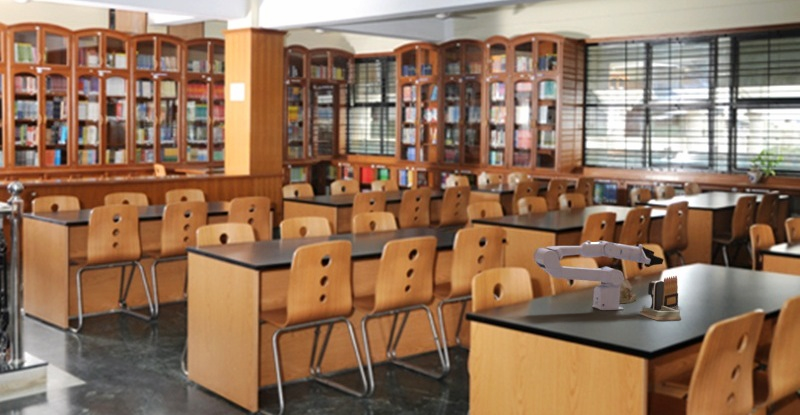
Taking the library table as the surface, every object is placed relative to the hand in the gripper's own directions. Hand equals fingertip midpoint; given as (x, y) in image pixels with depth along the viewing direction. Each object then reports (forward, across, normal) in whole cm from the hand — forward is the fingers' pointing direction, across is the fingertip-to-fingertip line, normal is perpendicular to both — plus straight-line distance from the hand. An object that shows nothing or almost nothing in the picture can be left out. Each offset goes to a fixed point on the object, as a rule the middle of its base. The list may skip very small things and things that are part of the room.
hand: (657, 257), depth 358 cm
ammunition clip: (+9, -4, +18) cm, 21 cm away
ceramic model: (-4, +11, +24) cm, 26 cm away
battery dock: (-6, -22, +16) cm, 28 cm away
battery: (-1, -11, +18) cm, 21 cm away
